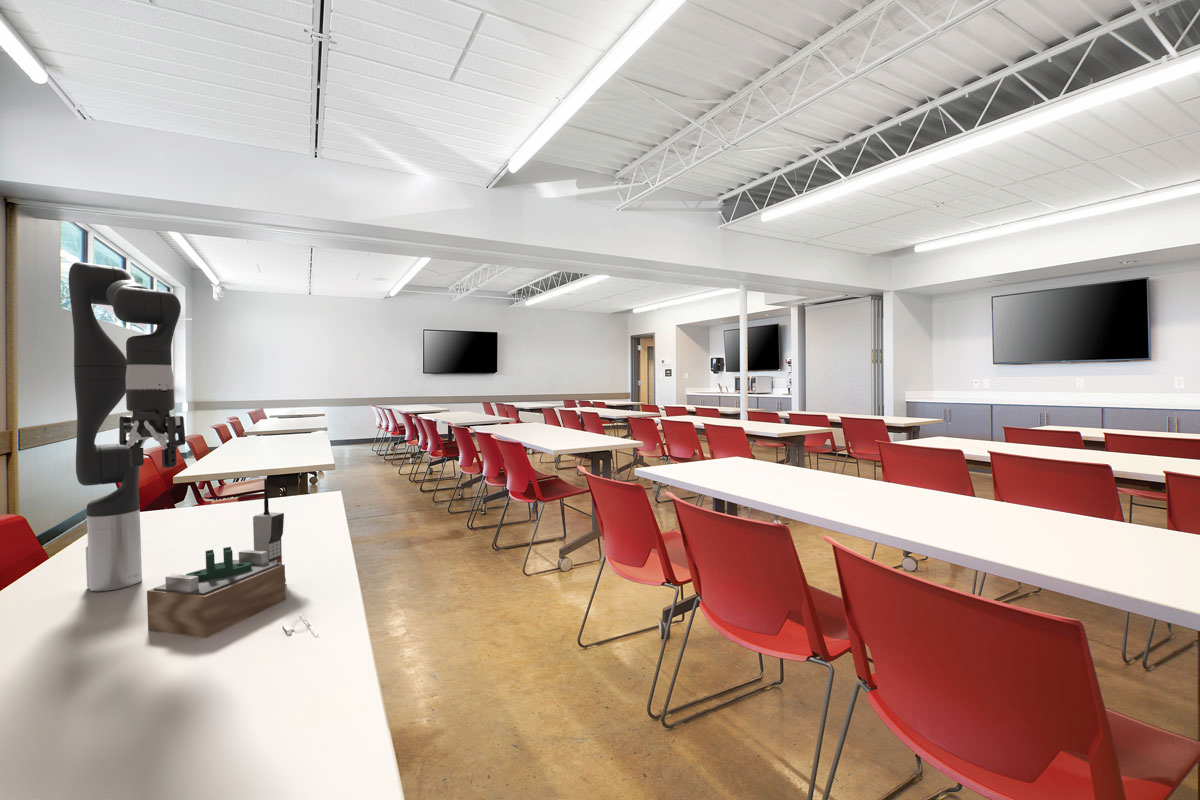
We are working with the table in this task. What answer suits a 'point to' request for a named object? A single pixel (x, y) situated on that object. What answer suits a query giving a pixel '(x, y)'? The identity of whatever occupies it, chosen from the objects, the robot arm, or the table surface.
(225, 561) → the mount
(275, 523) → the vintage mobile phone
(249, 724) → the table surface
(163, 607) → the tray
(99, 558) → the robot arm
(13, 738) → the table surface
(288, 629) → the picture light
